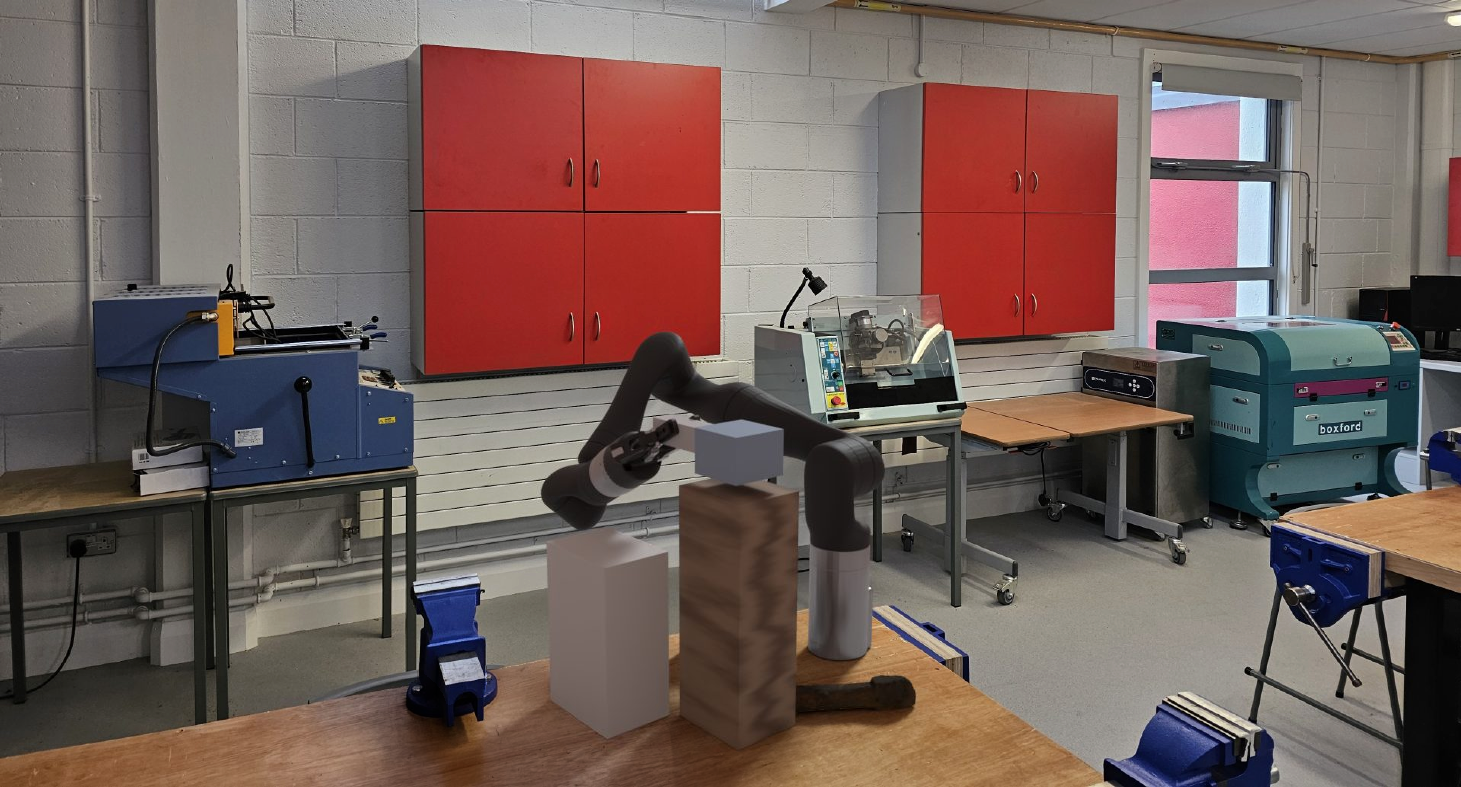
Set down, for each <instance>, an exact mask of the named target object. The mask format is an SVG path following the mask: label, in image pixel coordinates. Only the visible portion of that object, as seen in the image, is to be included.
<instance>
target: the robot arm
mask: <svg viewBox="0 0 1461 787" xmlns="http://www.w3.org/2000/svg"><path fill="white" fill-rule="evenodd" d="M628 365H629V366H628V368H627V370H626V372H625V374H624V377H623V379H622V380H621V383H620V384H619V387H618V390H617V391H616V393H615V395H614V398H613V399H612V402H611V403H610V406H609V407H608V409H607V411H606V412H605V414H604V416H603V418H602V419H601V421H600V422H599V424H598V425H597V427H596V429H595V430H593V432H592V434H591V435H590V436H589V438H588V440H587V441H586V442H585V444H584V445H583V446H582V448H581V449H580V451H579V453H578V455H577V462H578V463H576V464H570V465H566V466H563V467H560V468H558V469H556V470H555V471H553V472H552V473H550V475H549V474H548V476H547V477H546V479H545V480H544V481H543V483H542V485H541V489H540V495H541V496H540V498H541V500H542V503H543V504H544V505H545V506H546V507H547V508H548V509H550V510H551V511H552V512H553V513H555V514H556V515H557V516H558V517H559V518H561V519H562V520H563V521H564V522H566V523H567V524H569V525H570V527H572V528H573V529H575V530H578V531H582V532H583V531H589V530H590V529H593V527H595V526H597V525H598V523H600V521H601V519H602V518H603V516H604V514H605V512H606V509H607V505H609V504H610V503H611V502H613V501H614V500H616V499H617V498H619V497H621V496H623V495H625V494H629V493H630V492H632V491H633V490H635V489H637V488H638V487H640V486H642V485H643V484H645V483H647V482H649V481H650V480H652V479H653V478H654V477H656V476H657V474H658V473H659V471H660V470H661V467H662V462H663V461H664V460H666V459H668V458H669V457H670V456H671V455H672V454H674V453H676V452H677V451H679V450H681V449H678V448H675V447H671V446H668V445H664V444H663V443H664V442H667V441H668V440H670V439H671V438H673V437H674V436H676V435H677V434H679V428H678V425H677V421H676V419H669V420H668V421H666V422H665V423H663V424H662V425H660V426H659V427H656V428H655V427H654V428H653V427H651V428H650V429H649V430H641V429H642V427H643V426H642V425H643V421H644V417H645V413H646V409H647V405H648V403H649V400H650V397H651V396H652V397H654V398H656V399H657V400H659V401H660V402H664V403H665V404H668V405H670V406H673V407H675V408H677V409H680V410H683V411H685V412H687V413H690V414H692V415H691V416H689V418H690V419H694V420H698V421H703V422H707V423H711V424H719V423H724V422H730V421H736V420H746V421H750V422H755V423H759V424H763V425H768V426H772V427H776V428H781V429H784V444H783V457H787V458H792V459H796V460H799V461H801V462H805V464H804V469H803V470H804V471H803V492H804V493H803V494H804V496H803V497H804V498H803V499H804V516H805V522H806V525H807V529H808V532H809V570H808V571H809V573H808V574H809V580H808V622H807V623H808V627H807V629H808V630H807V631H808V633H807V649H808V650H809V652H810V653H811V654H813V655H815V656H817V657H819V658H823V659H826V660H833V661H850V660H855V659H858V658H861V657H863V656H864V655H865V654H866V653H867V652H868V649H869V648H870V647H872V642H873V640H872V639H873V638H872V637H873V635H872V634H873V610H874V608H873V607H874V606H873V605H874V604H873V602H874V590H873V588H872V587H871V586H870V569H871V565H870V564H871V539H872V538H871V536H872V535H871V533H872V532H871V527H870V525H869V524H868V523H867V522H866V521H865V520H864V521H863V520H862V519H858V518H856V517H855V516H856V515H855V499H856V498H859V497H863V496H865V495H868V494H870V493H871V492H873V491H874V490H876V489H877V488H878V487H879V486H880V485H881V484H882V482H883V480H884V479H885V473H886V469H885V468H886V467H885V462H884V459H883V457H882V455H881V452H879V450H878V449H877V448H876V447H875V445H873V444H872V443H871V442H870V441H869V440H867V439H866V438H863V437H862V436H859V435H856V434H854V433H851V432H848V431H846V430H842V429H840V428H837V427H835V426H832V425H831V424H827V423H824V422H823V421H820V420H818V419H816V418H814V417H812V416H810V415H809V414H807V413H805V412H803V411H801V410H800V409H797V408H796V407H794V406H791V405H790V404H788V403H787V402H784V401H782V400H780V399H779V398H778V397H777V398H776V397H775V396H774V395H772V394H770V393H768V392H766V391H764V390H762V389H760V388H758V387H756V385H752V384H750V383H746V382H742V381H735V382H727V383H723V384H717V383H715V382H713V381H711V380H710V379H707V377H704V376H703V375H701V374H700V373H699V372H698V371H697V370H696V369H695V367H694V366H693V363H692V360H691V357H690V353H689V351H688V349H687V347H686V344H685V342H684V341H683V339H682V337H681V336H680V335H678V334H677V333H675V332H672V331H659V332H655V333H654V334H651V335H649V336H648V337H646V338H645V339H644V340H643V341H642V342H641V343H640V344H639V346H638V347H637V349H636V351H635V352H634V354H633V356H632V359H631V361H630V363H629V364H628Z"/></svg>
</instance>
